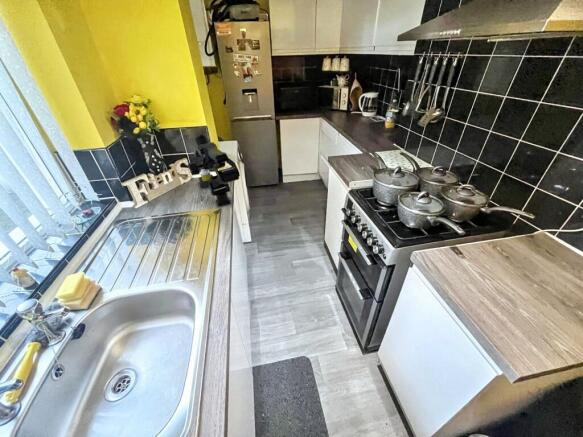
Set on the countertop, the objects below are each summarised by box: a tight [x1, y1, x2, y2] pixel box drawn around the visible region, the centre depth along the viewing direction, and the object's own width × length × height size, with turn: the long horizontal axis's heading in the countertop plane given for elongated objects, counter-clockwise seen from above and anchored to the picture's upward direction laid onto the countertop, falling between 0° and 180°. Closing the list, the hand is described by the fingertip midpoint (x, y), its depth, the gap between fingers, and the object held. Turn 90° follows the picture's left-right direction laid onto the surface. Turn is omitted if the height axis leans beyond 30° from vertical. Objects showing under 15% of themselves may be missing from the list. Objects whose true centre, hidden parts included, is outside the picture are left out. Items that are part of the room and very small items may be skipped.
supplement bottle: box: [199, 167, 212, 182], centre depth 145 cm, size 5×5×10 cm
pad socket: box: [198, 174, 214, 189], centre depth 147 cm, size 8×8×4 cm
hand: (206, 171), depth 140 cm, fingers open, 9 cm apart
